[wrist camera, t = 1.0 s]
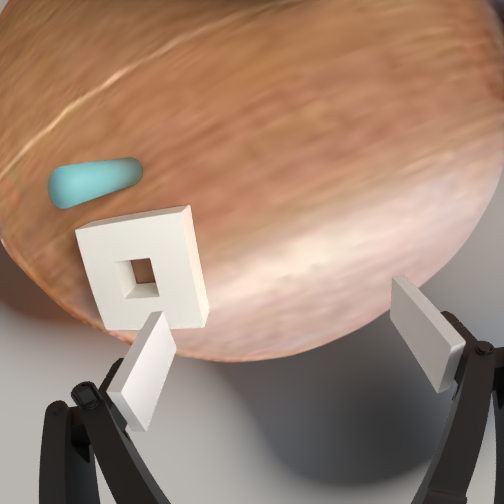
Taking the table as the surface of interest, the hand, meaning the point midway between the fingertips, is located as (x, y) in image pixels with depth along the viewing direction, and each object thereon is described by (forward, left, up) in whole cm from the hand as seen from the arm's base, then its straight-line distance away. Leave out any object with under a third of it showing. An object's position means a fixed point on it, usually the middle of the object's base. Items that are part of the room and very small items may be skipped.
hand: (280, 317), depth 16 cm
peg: (-9, -18, -25) cm, 32 cm away
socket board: (+5, -18, -25) cm, 31 cm away
